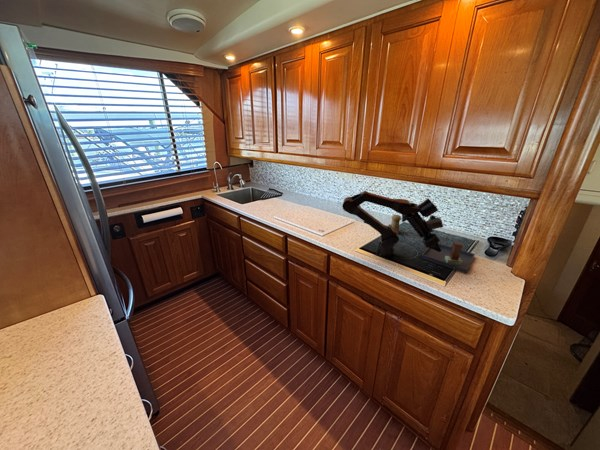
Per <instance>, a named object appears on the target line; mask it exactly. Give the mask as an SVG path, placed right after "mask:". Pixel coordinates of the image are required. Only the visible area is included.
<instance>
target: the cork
mask: <svg viewBox="0 0 600 450" xmlns="http://www.w3.org/2000/svg"><path fill="white" fill-rule="evenodd" d="M401 218H402V215H400V214H393V215H392V216H391V223H390V225H391V226H392V227H394V228H396V230H397V233H398V235H399V234H400V222H401V221H402V220H401Z"/></svg>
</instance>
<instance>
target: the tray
mask: <svg viewBox="0 0 600 450" xmlns="http://www.w3.org/2000/svg"><path fill="white" fill-rule="evenodd" d="M438 245H439V247H440V249H441V252H438V251H436V250H433V249H431V248H427V247H426V248H425V250H424V251H423V252H422V253H421V255H420V259H422V260H426V261H428V262H431V263H434V264H437V265H440V266H443V267H445V268H448V269H451V270H454V271H457V272H460V273H462V274H467V272H468V270H469V268H470V266H471V264H472V262H473V260H474V259H475V256H476V254H475V253H473V252H470V251H467V250H463V249H462V250H461V253H460V256H459V258H460V259H461V260H462V264H461V265H456V264H450V263H447V262H446V261H445V256H450V253H451V250H452V246H449V245H446V244H442V243H439V242H438ZM454 267H455V268H454Z"/></svg>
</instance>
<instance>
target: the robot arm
mask: <svg viewBox="0 0 600 450" xmlns="http://www.w3.org/2000/svg"><path fill="white" fill-rule="evenodd" d="M366 202H367V203H371V204H373V205H378V206H382V207H385V208H387V209H391V210H393V212H396V213H397V214H399V215H401V220H400V221H401V222H402V223H405V222H406V221H407V223H409V225H410V226H411V227H412V228H413V230H414V231H415V232H416V233H417V235H418V237H420V238H422V243H423V246H425V248H426V249H427V248H431V249H433V250H436V251H438V252H441V249H440V247H439V245H438V243H439V242H440V241H441V239H440V237H438V235H437V234H436V233H433V232H434V230H435V229H440V228H443V227H444V225H443V220H442V219H441V218H440V217H438V216H435V215H434V214H435V213H437V212H438V211H439V208H438V207H437V206H436V204H434V202H432V200H431V199H430V197H429V198H426V199H425V200H424V201H422V202H420V203H419V204H417V203H414V202H410V201H409V200H408V199H404V198H391V197H387V196H384V195H379V194H376V193H373V192H369V191H367V190H364V191H362V192H360V193H357V194H354V195H352V196H347V197H345V198H344V199H343V201H342V210H343V211H344V212H346V213H347V214H350V215H353V216H356V217H357V218H359V219H360V220H361V221H363V222H364V223H365V224H367V225H368V226H369V227H371V228H372V229H374V230H375V231H376V232H378V233H379V234H380V236H379V237H380V241H379V242H378V247H377V252H376V253H375V255H376V256H378V257H381V258H384V259H386V260H389V259H390V258H392V257H393V256H394V251H395V248H394V246H395V245H397V244H398V242H399V241H400V236H399V234H398V233H397V230H396V228H394V227H392V226H391V223H390V224H388V225H385V224H384V223H382V222H381V221H379V220H378V219H377V218H376V217H374V216H373V215H372V214H370V213H369V212H367V211H366V210H365V209H363V207H361V205H362V204H363V203H366ZM423 217H424V218H428V217H429V219H428V220H426V219H424V218H423Z"/></svg>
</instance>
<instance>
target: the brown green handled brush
mask: <svg viewBox="0 0 600 450" xmlns="http://www.w3.org/2000/svg"><path fill="white" fill-rule="evenodd" d="M451 247H452V250H451V253H450V256H445V261H446V262H447V263H450V264H456V265H461V264H462V260H461V259H460V258H459V256H460V253H461V250H463V247H464V245H463V243H462V242H457V241H453V243H452V246H451Z"/></svg>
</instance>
